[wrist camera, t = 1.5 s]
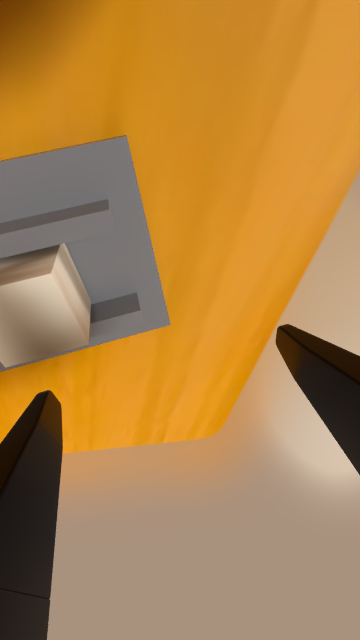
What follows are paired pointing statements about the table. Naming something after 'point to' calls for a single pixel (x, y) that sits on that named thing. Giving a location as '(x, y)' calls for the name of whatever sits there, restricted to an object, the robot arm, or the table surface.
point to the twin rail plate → (87, 231)
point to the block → (41, 305)
